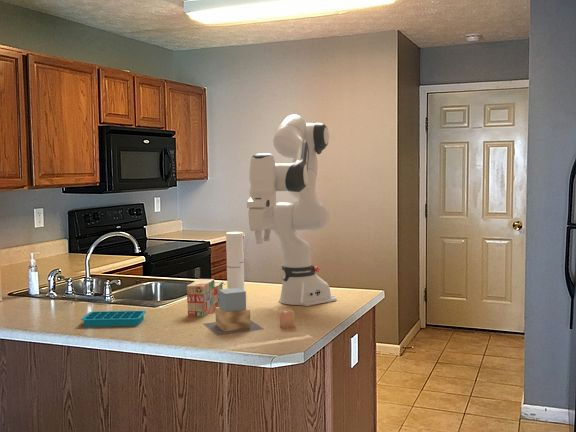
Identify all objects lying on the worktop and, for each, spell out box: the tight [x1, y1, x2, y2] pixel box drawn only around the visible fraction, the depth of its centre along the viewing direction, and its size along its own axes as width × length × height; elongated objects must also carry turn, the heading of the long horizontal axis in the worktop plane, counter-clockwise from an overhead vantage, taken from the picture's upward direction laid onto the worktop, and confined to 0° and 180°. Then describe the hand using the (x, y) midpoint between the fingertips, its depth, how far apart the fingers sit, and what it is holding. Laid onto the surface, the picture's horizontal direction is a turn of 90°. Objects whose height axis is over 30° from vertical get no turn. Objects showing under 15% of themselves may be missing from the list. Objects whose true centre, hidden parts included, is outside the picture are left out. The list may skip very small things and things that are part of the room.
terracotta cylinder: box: [278, 308, 296, 329], centre depth 209 cm, size 5×5×6 cm
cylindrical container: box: [225, 231, 245, 291], centre depth 270 cm, size 7×7×25 cm
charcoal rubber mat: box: [203, 319, 265, 337], centre depth 210 cm, size 16×16×1 cm
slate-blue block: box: [219, 288, 247, 312], centre depth 210 cm, size 7×7×6 cm
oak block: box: [214, 307, 251, 331], centre depth 210 cm, size 9×9×6 cm
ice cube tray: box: [80, 310, 147, 328], centre depth 222 cm, size 12×20×3 cm, turn 90°
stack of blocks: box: [186, 278, 223, 318], centre depth 234 cm, size 21×6×12 cm, turn 167°
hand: (263, 242), depth 215 cm, fingers open, 8 cm apart
